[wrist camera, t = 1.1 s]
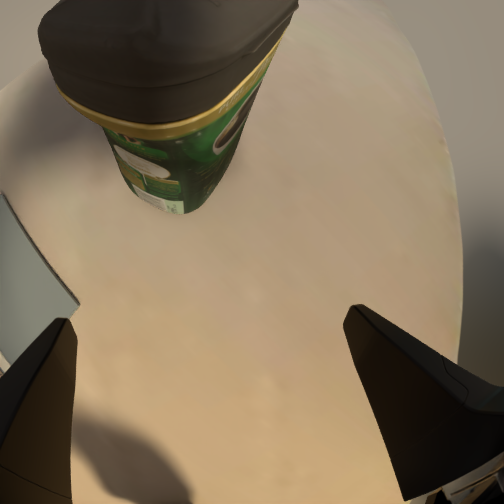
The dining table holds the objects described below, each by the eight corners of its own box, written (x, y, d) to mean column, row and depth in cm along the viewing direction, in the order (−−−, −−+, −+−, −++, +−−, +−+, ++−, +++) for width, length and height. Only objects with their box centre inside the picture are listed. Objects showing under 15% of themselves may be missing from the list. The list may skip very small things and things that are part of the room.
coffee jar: (172, 100, 22) (175, -86, 4) (247, 136, 23) (344, -43, 5) (112, 187, 20) (-17, 31, 2) (193, 231, 22) (202, 80, 4)
